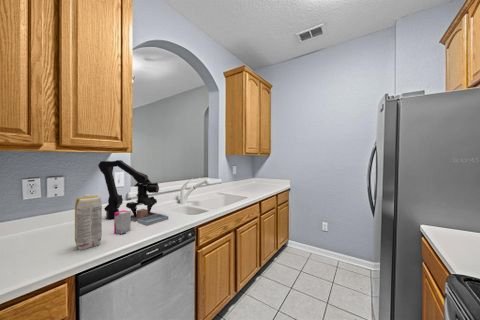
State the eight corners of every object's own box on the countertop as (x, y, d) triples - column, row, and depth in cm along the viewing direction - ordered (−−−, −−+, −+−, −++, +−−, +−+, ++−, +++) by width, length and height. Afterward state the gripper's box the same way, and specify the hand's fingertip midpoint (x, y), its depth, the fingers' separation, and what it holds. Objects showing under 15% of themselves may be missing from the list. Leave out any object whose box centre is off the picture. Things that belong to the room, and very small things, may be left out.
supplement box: (131, 230, 108) (131, 210, 108) (121, 234, 102) (121, 213, 102) (123, 229, 110) (123, 209, 110) (113, 233, 104) (113, 212, 104)
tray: (146, 226, 115) (146, 222, 115) (137, 223, 120) (137, 219, 120) (168, 219, 128) (168, 216, 128) (159, 217, 133) (159, 213, 133)
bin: (135, 222, 122) (135, 219, 122) (126, 219, 127) (126, 216, 127) (156, 216, 135) (156, 213, 135) (148, 214, 140) (148, 211, 140)
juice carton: (98, 240, 96) (98, 192, 96) (102, 244, 91) (103, 194, 90) (73, 246, 89) (73, 195, 88) (77, 252, 84) (77, 197, 83)
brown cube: (140, 218, 128) (140, 211, 128) (136, 217, 130) (136, 210, 130) (147, 217, 132) (147, 209, 132) (143, 215, 134) (143, 208, 134)
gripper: (135, 196, 119) (134, 221, 119) (161, 192, 134) (161, 214, 135) (125, 194, 125) (125, 218, 125) (152, 190, 140) (152, 211, 141)
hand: (142, 215), depth 131 cm, fingers open, 9 cm apart
